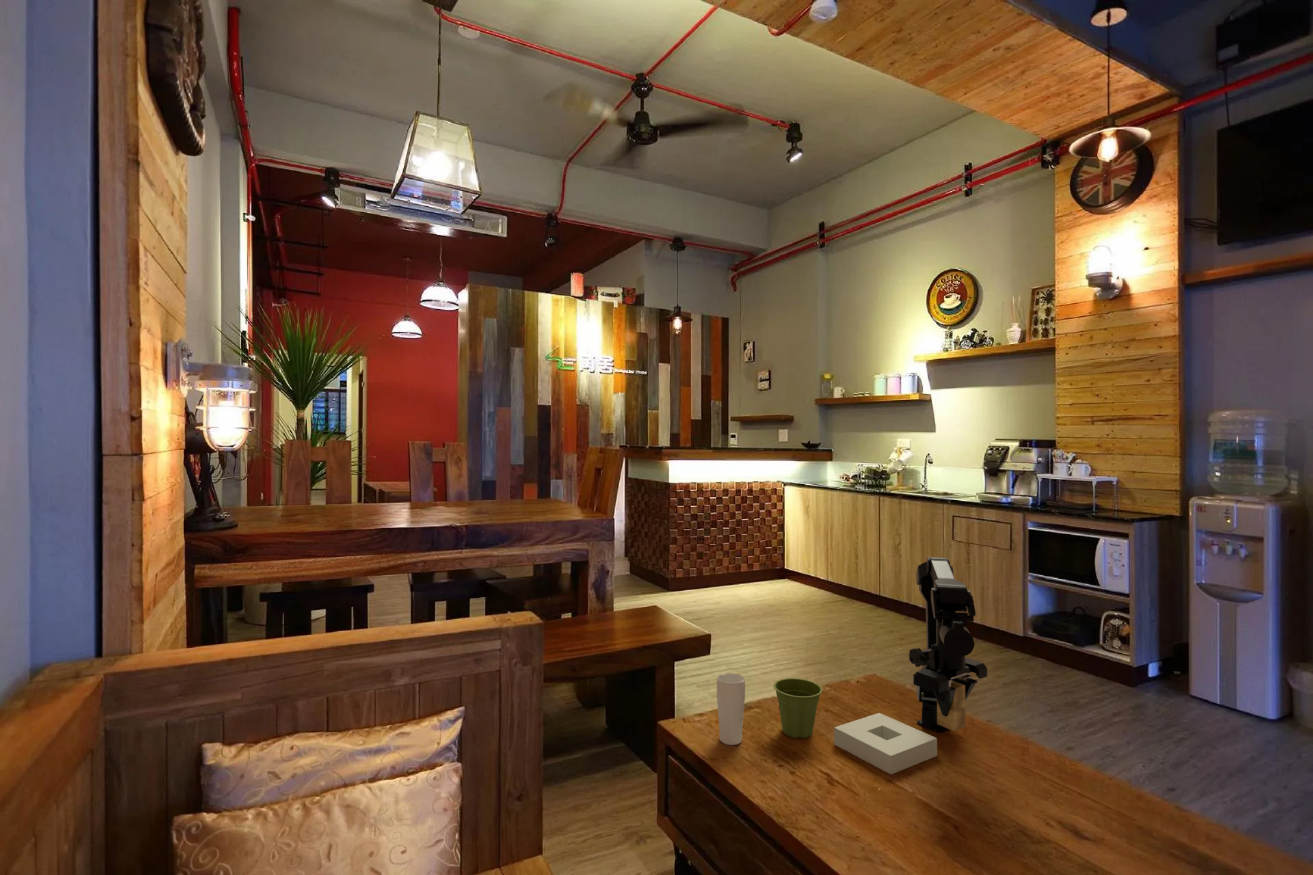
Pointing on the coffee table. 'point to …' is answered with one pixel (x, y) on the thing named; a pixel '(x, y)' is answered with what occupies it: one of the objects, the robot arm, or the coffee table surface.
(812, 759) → the coffee table surface
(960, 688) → the peg
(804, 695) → the plant pot
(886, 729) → the socket block
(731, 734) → the drinking glass
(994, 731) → the coffee table surface
